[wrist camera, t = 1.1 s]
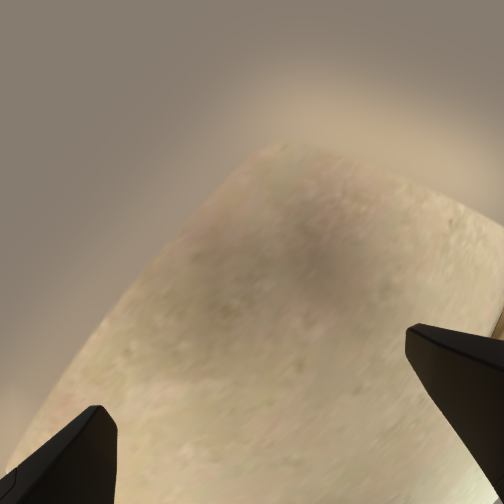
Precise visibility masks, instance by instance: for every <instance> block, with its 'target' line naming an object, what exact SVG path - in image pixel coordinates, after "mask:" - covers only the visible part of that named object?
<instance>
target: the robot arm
mask: <svg viewBox="0 0 504 504" xmlns="http://www.w3.org/2000/svg"><path fill="white" fill-rule="evenodd" d="M405 354H406V357H407V359H408V361H409V362H410V364H411V366H412V367H413V369H414V371H415V372H416V374H417V376H418V377H419V379H420V381H421V383H422V384H423V386H424V388H425V389H426V391H427V393H428V394H429V396H430V397H431V399H432V400H433V401H434V403H435V404H436V405H437V407H438V408H439V409H440V411H441V412H442V413H443V415H444V416H445V418H446V419H447V420H448V422H449V423H450V424H451V426H452V427H453V429H454V430H455V431H456V433H457V434H458V436H459V437H460V438H461V440H462V441H463V443H464V444H465V446H466V447H467V448H468V450H469V451H470V453H471V454H472V456H473V457H474V459H475V460H476V462H477V463H478V465H479V466H480V468H481V469H482V471H483V472H484V474H485V475H486V477H487V478H488V480H489V482H490V483H491V485H492V486H493V487H494V490H495V491H496V493H497V495H498V496H499V498H500V499H501V501H502V503H503V504H504V340H499V339H494V338H489V337H484V336H478V335H473V334H468V333H463V332H459V331H454V330H449V329H444V328H439V327H435V326H430V325H425V324H421V323H418V324H415V325H413V326H411V327H409V328H408V329H407V330H406V340H405ZM117 433H118V430H117V425H116V423H115V422H114V420H113V419H112V418H111V416H110V415H109V413H108V412H107V411H106V409H105V408H104V407H103V406H101V405H92V406H89V407H88V408H87V409H85V410H84V411H83V412H82V413H81V414H80V415H78V416H77V417H76V418H75V419H74V420H72V421H71V422H70V423H69V424H68V425H66V426H65V427H64V428H63V429H62V430H60V431H59V432H58V433H57V434H56V435H54V436H53V437H52V438H51V439H50V440H48V441H47V442H46V443H45V444H44V445H42V446H41V447H40V448H39V449H38V450H36V451H35V452H34V453H33V454H32V455H30V456H29V457H28V458H27V459H25V460H24V461H23V462H22V463H21V464H19V465H18V467H16V468H14V469H13V470H12V471H11V472H10V473H8V474H7V475H6V476H4V477H3V478H2V479H1V480H0V504H114V497H115V485H116V474H117Z"/></svg>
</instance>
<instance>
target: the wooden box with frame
mask: <svg viewBox="0 0 504 504" xmlns="http://www.w3.org/2000/svg"><path fill="white" fill-rule="evenodd" d="M491 338H494V339H499V340H504V310H503V312H502V315H501V317H500V319H499V322H498V324H497V326H496V328H495V330H494V333H493V335H492V337H491Z"/></svg>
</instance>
